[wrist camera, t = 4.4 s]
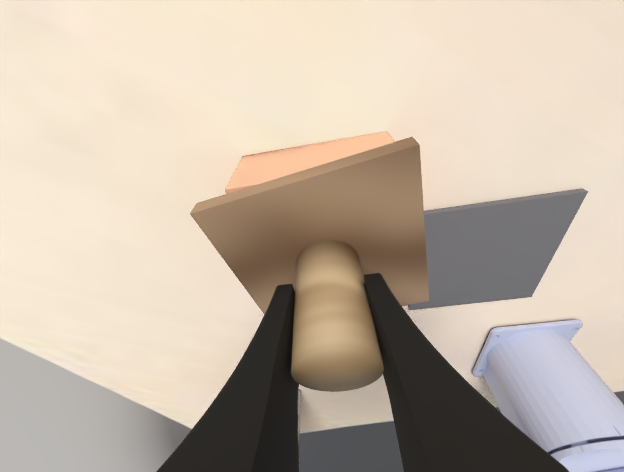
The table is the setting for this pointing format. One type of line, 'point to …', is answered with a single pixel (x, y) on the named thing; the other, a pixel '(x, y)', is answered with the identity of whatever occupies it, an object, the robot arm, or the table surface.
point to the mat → (494, 247)
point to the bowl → (299, 159)
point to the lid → (329, 253)
